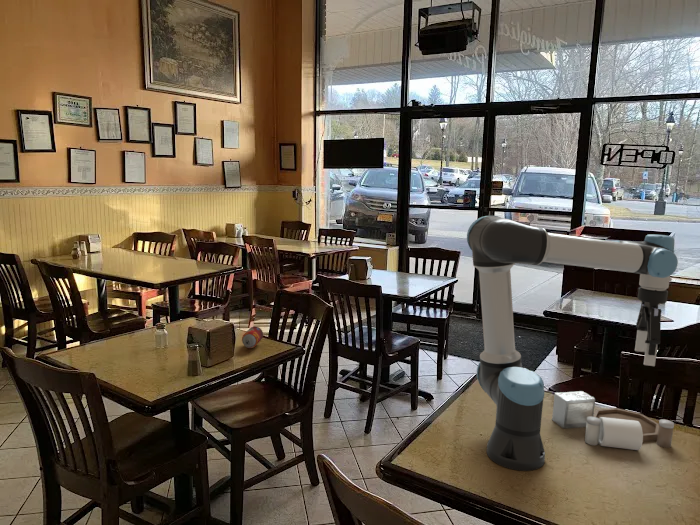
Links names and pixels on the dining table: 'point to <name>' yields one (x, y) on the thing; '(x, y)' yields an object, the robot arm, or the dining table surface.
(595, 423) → the salt shaker
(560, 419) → the white box
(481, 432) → the dining table surface
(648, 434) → the tray
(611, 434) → the white cylinder
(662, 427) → the pepper shaker
